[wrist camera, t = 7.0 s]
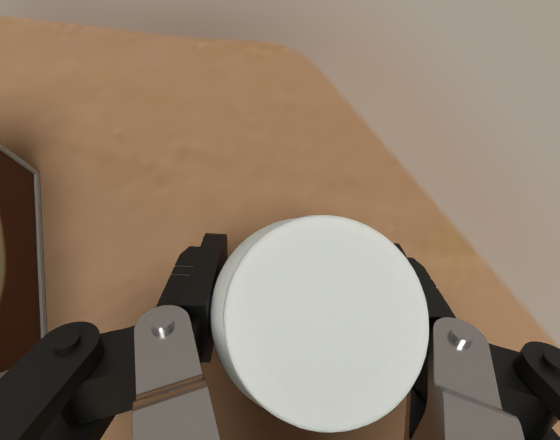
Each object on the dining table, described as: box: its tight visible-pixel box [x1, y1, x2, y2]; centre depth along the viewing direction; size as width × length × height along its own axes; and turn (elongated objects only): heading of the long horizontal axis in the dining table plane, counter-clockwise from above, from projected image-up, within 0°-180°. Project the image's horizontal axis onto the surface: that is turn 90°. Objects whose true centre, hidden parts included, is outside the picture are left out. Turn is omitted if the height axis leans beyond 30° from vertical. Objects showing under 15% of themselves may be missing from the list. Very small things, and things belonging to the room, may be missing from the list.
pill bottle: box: [210, 215, 429, 433], centre depth 11 cm, size 5×5×10 cm
